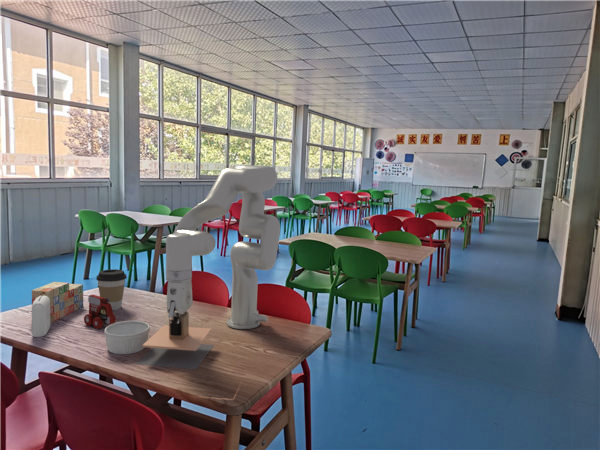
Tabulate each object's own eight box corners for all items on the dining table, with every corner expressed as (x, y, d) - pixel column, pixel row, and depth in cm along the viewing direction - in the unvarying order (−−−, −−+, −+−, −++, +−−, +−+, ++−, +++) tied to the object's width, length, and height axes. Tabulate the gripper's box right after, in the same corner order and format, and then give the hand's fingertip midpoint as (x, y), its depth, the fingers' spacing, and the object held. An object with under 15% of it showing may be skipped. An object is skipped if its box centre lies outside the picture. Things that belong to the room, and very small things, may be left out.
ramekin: (121, 361, 126) (122, 338, 125) (95, 350, 133) (95, 328, 132) (158, 347, 137) (158, 326, 137) (131, 337, 144) (131, 317, 143)
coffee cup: (120, 302, 182) (120, 267, 180) (131, 309, 173) (131, 272, 172) (92, 306, 174) (92, 270, 172) (101, 314, 166) (101, 276, 164)
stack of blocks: (69, 305, 174) (68, 276, 173) (83, 306, 174) (83, 277, 172) (32, 323, 153) (31, 289, 152) (48, 324, 153) (47, 290, 151)
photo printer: (37, 327, 149) (36, 293, 147) (51, 326, 150) (51, 292, 149) (30, 338, 139) (29, 301, 138) (45, 337, 141) (44, 300, 139)
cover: (211, 330, 139) (211, 307, 138) (196, 350, 123) (196, 325, 122) (164, 327, 140) (164, 304, 139) (142, 346, 125) (142, 322, 124)
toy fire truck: (102, 331, 148) (102, 302, 147) (80, 323, 154) (80, 295, 153) (120, 326, 154) (120, 298, 153) (98, 318, 160) (98, 291, 159)
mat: (213, 346, 140) (213, 345, 140) (196, 370, 122) (196, 369, 122) (160, 341, 142) (160, 340, 141) (135, 365, 124) (135, 364, 124)
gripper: (181, 282, 121) (181, 343, 123) (199, 268, 137) (199, 323, 140) (155, 280, 121) (155, 342, 124) (177, 267, 138) (177, 321, 140)
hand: (179, 331), depth 132 cm, fingers closed on cover, 4 cm apart
